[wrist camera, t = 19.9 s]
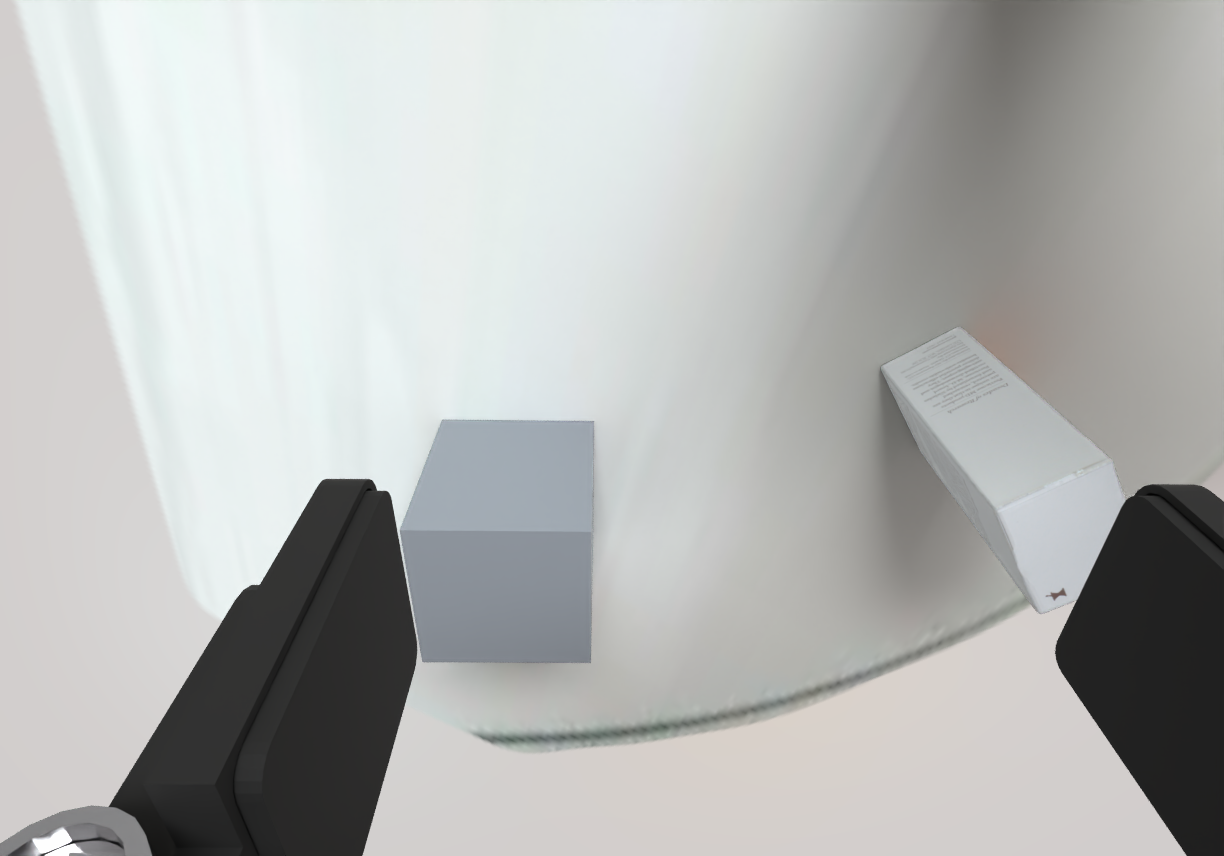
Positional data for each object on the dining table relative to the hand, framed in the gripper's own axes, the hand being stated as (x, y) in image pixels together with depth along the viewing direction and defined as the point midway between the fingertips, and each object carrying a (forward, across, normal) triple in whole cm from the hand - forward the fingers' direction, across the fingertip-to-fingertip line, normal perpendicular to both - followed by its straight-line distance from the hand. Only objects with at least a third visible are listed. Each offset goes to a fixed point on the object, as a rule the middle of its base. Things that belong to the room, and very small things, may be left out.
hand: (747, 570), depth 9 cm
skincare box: (+24, -15, +10) cm, 30 cm away
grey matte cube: (+24, +6, +16) cm, 30 cm away
